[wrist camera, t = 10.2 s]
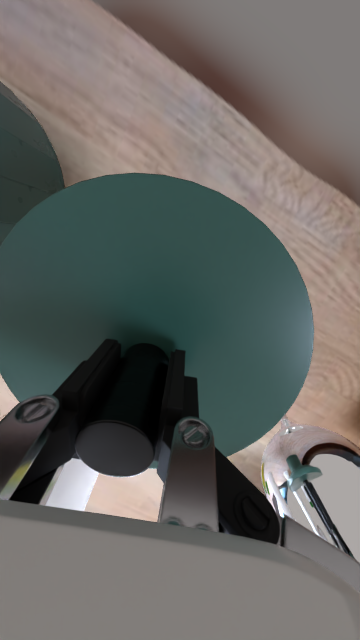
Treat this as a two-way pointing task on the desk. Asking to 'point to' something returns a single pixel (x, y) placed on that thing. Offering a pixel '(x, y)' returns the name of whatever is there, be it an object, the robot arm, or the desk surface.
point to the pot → (23, 162)
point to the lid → (154, 311)
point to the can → (73, 486)
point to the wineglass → (315, 482)
